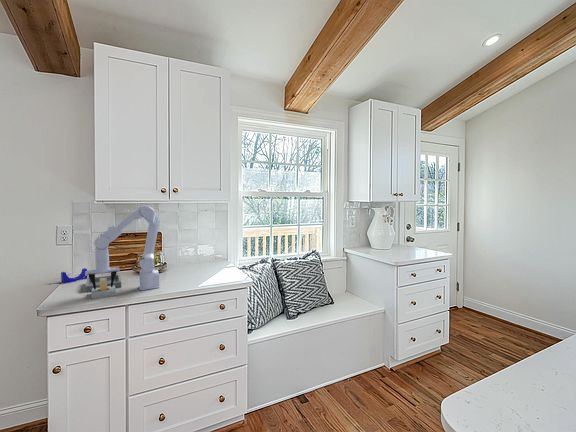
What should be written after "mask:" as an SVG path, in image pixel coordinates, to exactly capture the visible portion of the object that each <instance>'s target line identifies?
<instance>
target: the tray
mask: <svg viewBox="0 0 576 432" xmlns="http://www.w3.org/2000/svg"><path fill="white" fill-rule="evenodd" d="M100 278H107V286H111V275H104V276H95V283H96V288H100ZM121 278H122V277H121V274H120V273H119V274H116V276H115V279H114V282H113V286H115V289H119V288H122V279H121ZM84 287H85V293H90V292H92V288H94V286H93V284H92V282H91V280H90V279H89V277H87V279H86V283H85V286H84Z"/></svg>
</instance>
